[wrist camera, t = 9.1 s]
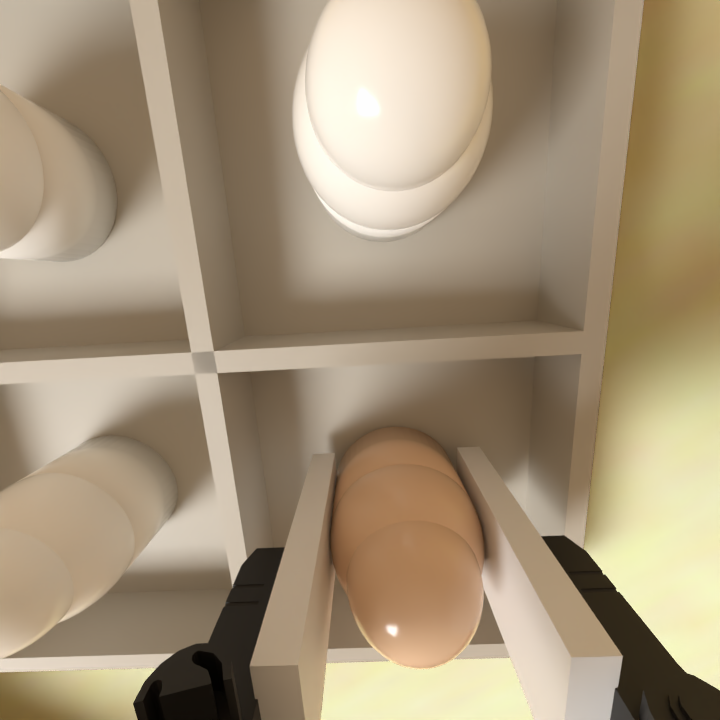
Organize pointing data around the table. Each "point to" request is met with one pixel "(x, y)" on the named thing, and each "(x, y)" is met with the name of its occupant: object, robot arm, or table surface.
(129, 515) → the white egg
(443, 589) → the brown egg
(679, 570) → the table surface
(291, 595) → the robot arm
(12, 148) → the white egg
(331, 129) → the white egg
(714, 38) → the table surface
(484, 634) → the carton
